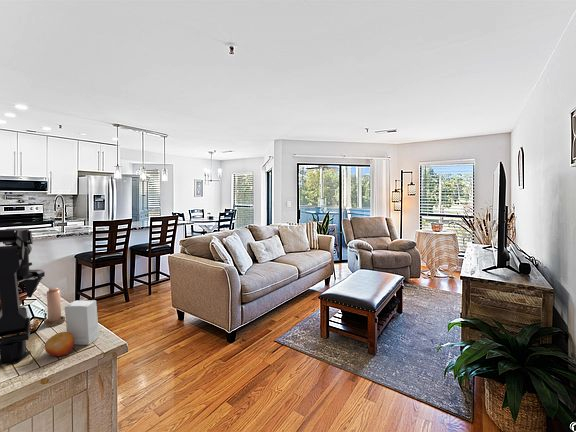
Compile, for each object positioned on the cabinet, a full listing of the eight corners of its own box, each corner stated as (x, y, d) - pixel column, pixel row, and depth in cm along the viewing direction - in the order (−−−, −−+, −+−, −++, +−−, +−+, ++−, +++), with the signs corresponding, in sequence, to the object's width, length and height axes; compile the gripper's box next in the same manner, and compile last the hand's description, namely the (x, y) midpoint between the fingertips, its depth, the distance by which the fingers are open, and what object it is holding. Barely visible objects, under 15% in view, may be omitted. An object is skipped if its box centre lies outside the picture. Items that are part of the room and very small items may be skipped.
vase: (57, 323, 121) (56, 290, 120) (45, 323, 120) (44, 290, 119) (63, 318, 125) (62, 286, 124) (52, 319, 125) (51, 287, 123)
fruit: (84, 341, 106) (74, 328, 101) (69, 363, 99) (57, 350, 95) (64, 340, 107) (53, 327, 102) (47, 361, 100) (35, 348, 96)
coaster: (58, 326, 120) (58, 322, 120) (39, 326, 119) (39, 323, 119) (68, 318, 127) (68, 315, 127) (50, 319, 126) (50, 316, 126)
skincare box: (99, 337, 112) (98, 299, 111) (88, 346, 106) (87, 306, 105) (77, 337, 112) (76, 299, 111) (65, 345, 106) (64, 305, 105)
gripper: (14, 255, 118) (16, 293, 119) (-29, 267, 100) (-27, 312, 101) (44, 255, 120) (46, 293, 121) (7, 267, 101) (10, 311, 102)
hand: (20, 301), depth 111 cm, fingers open, 9 cm apart
